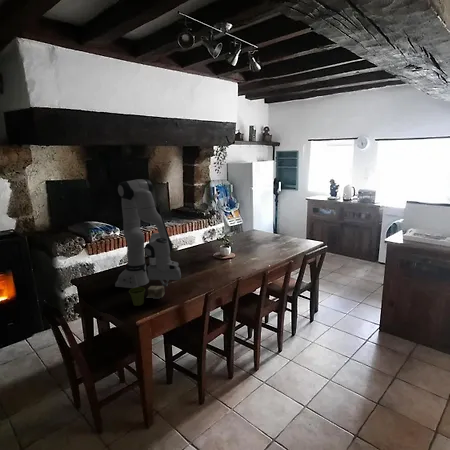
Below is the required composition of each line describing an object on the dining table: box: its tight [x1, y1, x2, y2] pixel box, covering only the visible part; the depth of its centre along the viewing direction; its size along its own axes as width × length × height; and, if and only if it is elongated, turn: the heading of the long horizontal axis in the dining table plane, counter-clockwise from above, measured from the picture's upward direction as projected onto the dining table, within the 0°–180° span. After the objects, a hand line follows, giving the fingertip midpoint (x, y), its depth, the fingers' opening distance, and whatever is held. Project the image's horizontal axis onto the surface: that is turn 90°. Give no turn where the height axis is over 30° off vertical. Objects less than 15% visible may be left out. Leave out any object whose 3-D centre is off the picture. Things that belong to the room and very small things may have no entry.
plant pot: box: [128, 286, 146, 307], centre depth 193 cm, size 9×9×9 cm
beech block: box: [147, 285, 166, 298], centre depth 203 cm, size 5×5×9 cm
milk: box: [148, 232, 160, 265], centre depth 254 cm, size 12×12×26 cm
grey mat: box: [145, 295, 162, 300], centre depth 203 cm, size 9×8×1 cm
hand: (165, 285), depth 201 cm, fingers closed
